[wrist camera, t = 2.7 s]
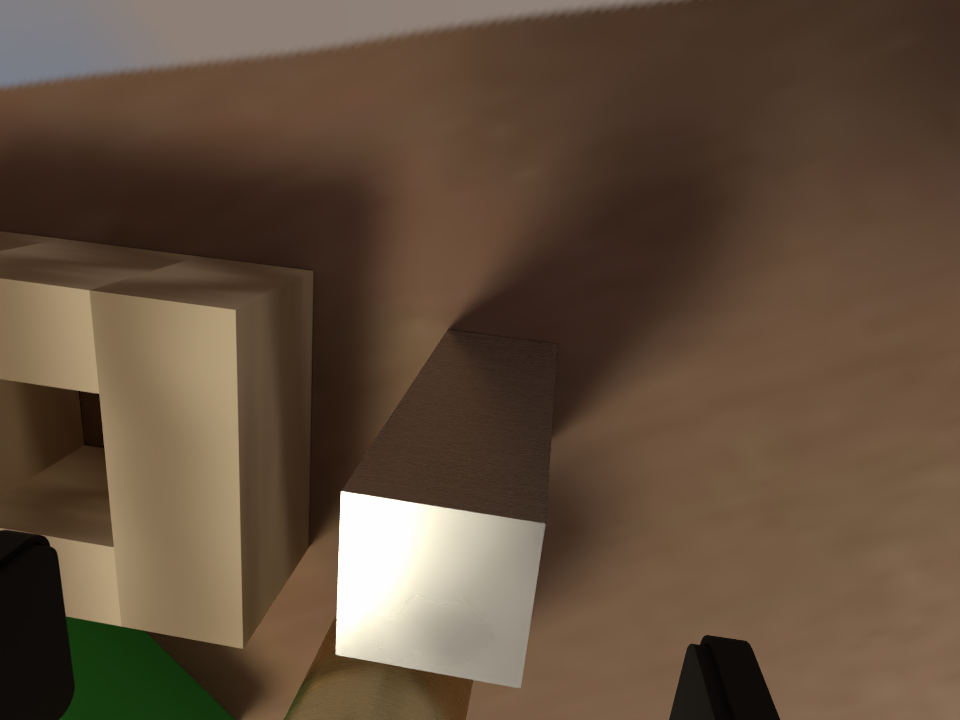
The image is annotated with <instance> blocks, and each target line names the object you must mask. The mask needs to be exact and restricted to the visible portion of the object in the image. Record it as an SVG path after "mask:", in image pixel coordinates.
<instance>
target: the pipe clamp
mask: <svg viewBox="0 0 960 720" xmlns="http://www.w3.org/2000/svg"><path fill="white" fill-rule="evenodd" d="M66 621H67V629H68V636H69V644H70V652H71V659H72V667H73V675H74V683H75V691H74V696H73V698H72V701H71V704H70V705H69V707H68V709H67V711H66V712H65V713H64V715H63V716H62V717H61V718H60V720H235V719H234V718H233V717H232V716H231V715H230V714H229V713H228V712H227V711H226V710H225V709H224V708H223V707H222V706H221V705H220V704H219V703H217V702H216V701H215V700H214V699H213V698H212V697H211V696H210V695H209V694H208V693H207V692H206V691H205V690H204V689H203V688H202V687H201V686H200V685H199V684H198V683H197V682H196V681H195V680H194V679H193V678H192V677H191V676H190V675H189V674H188V673H187V672H186V671H185V670H184V669H183V668H182V667H181V666H180V665H179V664H178V663H177V662H176V661H175V660H174V659H173V658H172V657H171V656H170V655H169V654H168V653H167V652H166V651H165V650H164V649H163V648H162V647H160V646H159V645H158V644H157V643H156V642H155V641H154V640H153V639H152V638H151V637H150V636H149V635H148V634H147V633H146V632H145V631H143V630H138V629H132V628H127V627H121V626H116V625H111V624H105V623H100V622H94V621H89V620H83V619H78V618H72V617H67V616H66Z"/></svg>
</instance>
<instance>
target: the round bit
mask: <svg viewBox="0 0 960 720" xmlns="http://www.w3.org/2000/svg"><path fill="white" fill-rule="evenodd" d="M336 625H337V614H336V616H335V618H334V620H333V622H332V624H331V626H330V628H329V630H328V632H327V634H326V636H325V638H324V640H323V642H322V644H321V646H320V648H319V650H318V652H317V654H316V657H315V659H314V661H313V663H312V665H311V667H310V669H309V671H308V673H307V675H306V677H305V679H304V681H303V683H302V685H301V687H300V689H299V691H298V693H297V695H296V697H295V699H294V701H293V703H292V705H291V707H290V709H289V711H288V713H287V715H286V717H285V719H284V720H466V716H467V711H468V705H469V700H470V694H471V689H472V684H473V680H471V679H466V678H460V677H455V676H449V675H444V674H438V673H433V672H428V671H422V670H417V669H411V668H406V667H400V666H395V665H389V664H384V663H378V662H373V661H367V660H362V659H356V658H351V657H345V656H340V655H335V654H336Z"/></svg>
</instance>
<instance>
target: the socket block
mask: <svg viewBox="0 0 960 720" xmlns="http://www.w3.org/2000/svg"><path fill="white" fill-rule="evenodd" d="M312 326H313V271H310V270H302V269H294V268H286V267H279V266H271V265H263V264H255V263H247V262H239V261H231V260H224V259H216V258H208V257H200V256H192V255H184V254H176V253H169V252H161V251H153V250H145V249H137V248H129V247H121V246H114V245H106V244H98V243H90V242H82V241H74V240H66V239H59V238H51V237H43V236H35V235H27V234H19V233H11V232H3V231H0V531H1V530H11V531H18V532H25V533H31V534H38V535H42V536H45V537H46V538H47V539H48V541H49V543H50V546H51V547H53V548H54V549H55V550H56V551H57V554H58V560H59V567H60V575H61V583H62V590H63V598H64V606H65V613H66V616H67V617H72V618H78V619H83V620H89V621H94V622H100V623H105V624H111V625H116V626H121V627H127V628H132V629H138V630H143V631H149V632H154V633H160V634H165V635H170V636H176V637H181V638H187V639H192V640H198V641H203V642H209V643H214V644H220V645H225V646H230V647H236V648H241V649H243V648H244V647H245V645H246V644H247V642H248V640H249V639H250V637H251V636H252V634H253V633H254V631H255V630H256V628H257V627H258V625H259V623H260V622H261V620H262V619H263V617H264V616H265V614H266V613H267V611H268V610H269V608H270V606H271V605H272V603H273V602H274V600H275V599H276V597H277V596H278V594H279V593H280V591H281V590H282V588H283V586H284V585H285V583H286V582H287V580H288V579H289V577H290V576H291V574H292V573H293V571H294V569H295V568H296V566H297V565H298V563H299V562H300V560H301V559H302V557H303V556H304V554H305V552H306V551H307V549H308V548H309V502H310V443H311V385H312ZM79 391H83V392H90V393H97V394H99V396H100V407H101V417H102V428H103V438H104V448H100V447H93V446H87V445H84V438H83V428H82V419H81V409H80V400H79Z"/></svg>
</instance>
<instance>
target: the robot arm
mask: <svg viewBox="0 0 960 720" xmlns="http://www.w3.org/2000/svg"><path fill="white" fill-rule="evenodd" d="M74 691H75V683H74V675H73V667H72V659H71V652H70V644H69V636H68V629H67V621H66V613H65V606H64V598H63V590H62V583H61V575H60V567H59V560H58V554H57V551H56V550H55V549H54V548H53V547H51V546H50V543H49V541H48V539H47V538H46V537H45V536H42V535H38V534H31V533H25V532H18V531H11V530H1V531H0V720H60V718H61V717H62V716H63V715H64V713H65V712H66V711H67V709H68V707H69V705H70V704H71V701H72V698H73V696H74ZM669 720H780V718H779V716H778V713H777V710H776V708H775V705H774V703H773V700H772V698H771V695H770V693H769V690H768V688H767V685H766V683H765V680H764V677H763V675H762V672H761V670H760V667H759V665H758V662H757V660H756V657H755V655H754V652H753V650H752V648H751V646H750V644H749V643H748V642H747V641H743V640H736V639H730V638H723V637H716V636H710V635H706V636H704V637H703V639H702V641H701V644H700V645H696V644H690V645H689V646H688V648H687V651H686V655H685V659H684V663H683V667H682V671H681V675H680V679H679V683H678V687H677V691H676V695H675V699H674V703H673V707H672V711H671V715H670V719H669Z"/></svg>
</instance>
